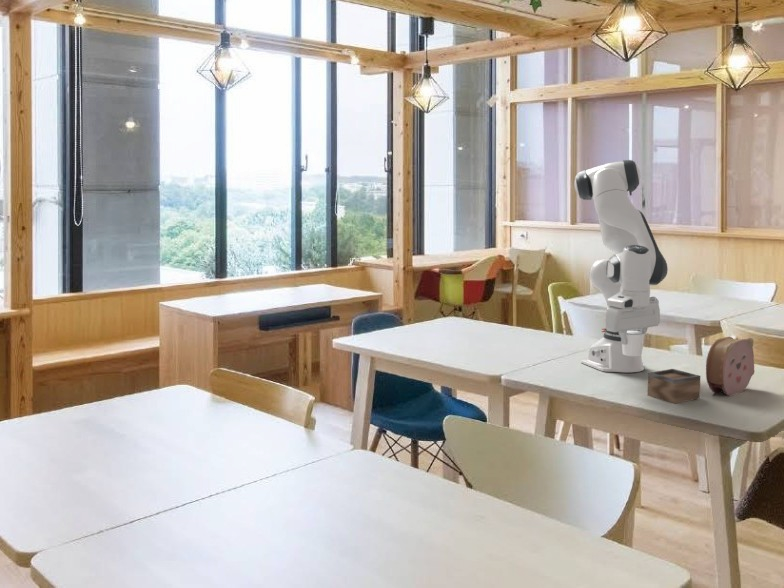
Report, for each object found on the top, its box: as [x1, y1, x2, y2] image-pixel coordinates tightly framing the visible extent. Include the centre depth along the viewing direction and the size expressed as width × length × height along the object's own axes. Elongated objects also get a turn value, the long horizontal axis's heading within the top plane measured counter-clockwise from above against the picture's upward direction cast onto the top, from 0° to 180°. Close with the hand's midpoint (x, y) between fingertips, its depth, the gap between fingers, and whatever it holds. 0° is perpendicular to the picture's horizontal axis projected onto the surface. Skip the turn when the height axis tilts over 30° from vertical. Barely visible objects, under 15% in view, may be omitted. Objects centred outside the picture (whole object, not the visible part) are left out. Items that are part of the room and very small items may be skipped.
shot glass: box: [622, 330, 646, 356], centre depth 250 cm, size 7×7×7 cm
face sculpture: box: [705, 336, 755, 397], centre depth 251 cm, size 20×7×17 cm, turn 132°
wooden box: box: [647, 368, 701, 404], centre depth 245 cm, size 11×11×7 cm
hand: (632, 342), depth 250 cm, fingers closed on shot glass, 5 cm apart
